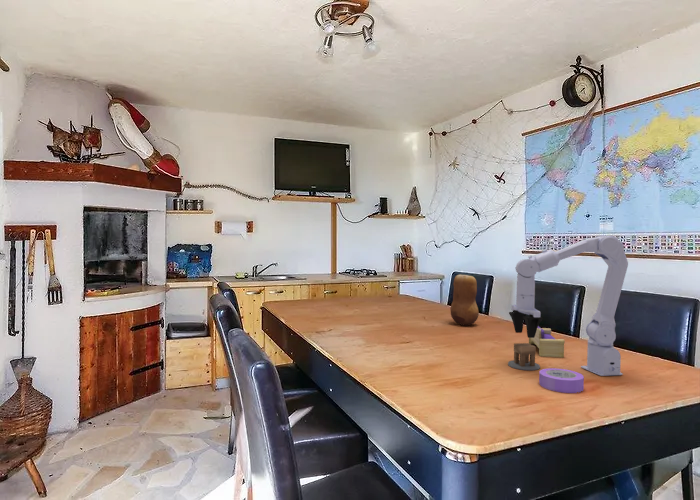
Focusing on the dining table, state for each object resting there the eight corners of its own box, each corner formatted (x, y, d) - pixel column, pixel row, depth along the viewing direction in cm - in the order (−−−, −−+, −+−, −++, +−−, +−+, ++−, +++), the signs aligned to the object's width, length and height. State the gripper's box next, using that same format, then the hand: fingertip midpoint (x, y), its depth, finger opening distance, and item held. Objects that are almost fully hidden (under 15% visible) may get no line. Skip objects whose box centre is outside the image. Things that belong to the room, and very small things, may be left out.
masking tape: (532, 386, 129) (532, 373, 129) (548, 377, 137) (548, 365, 137) (575, 396, 121) (575, 382, 120) (589, 387, 129) (589, 374, 129)
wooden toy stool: (535, 366, 146) (535, 346, 146) (521, 366, 146) (521, 347, 145) (527, 361, 151) (527, 343, 151) (513, 362, 151) (513, 343, 150)
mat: (546, 369, 144) (546, 368, 144) (517, 371, 143) (517, 369, 143) (529, 361, 154) (529, 359, 154) (502, 362, 153) (502, 360, 153)
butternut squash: (481, 324, 221) (482, 274, 220) (473, 328, 210) (474, 276, 209) (454, 321, 228) (455, 273, 228) (445, 325, 217) (446, 274, 216)
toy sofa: (565, 358, 159) (565, 330, 159) (539, 357, 161) (540, 329, 161) (550, 345, 180) (551, 320, 179) (527, 343, 181) (528, 319, 181)
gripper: (503, 292, 155) (502, 330, 155) (526, 297, 141) (525, 340, 141) (522, 292, 156) (521, 330, 157) (546, 297, 142) (545, 339, 142)
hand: (524, 335), depth 149 cm, fingers open, 7 cm apart
